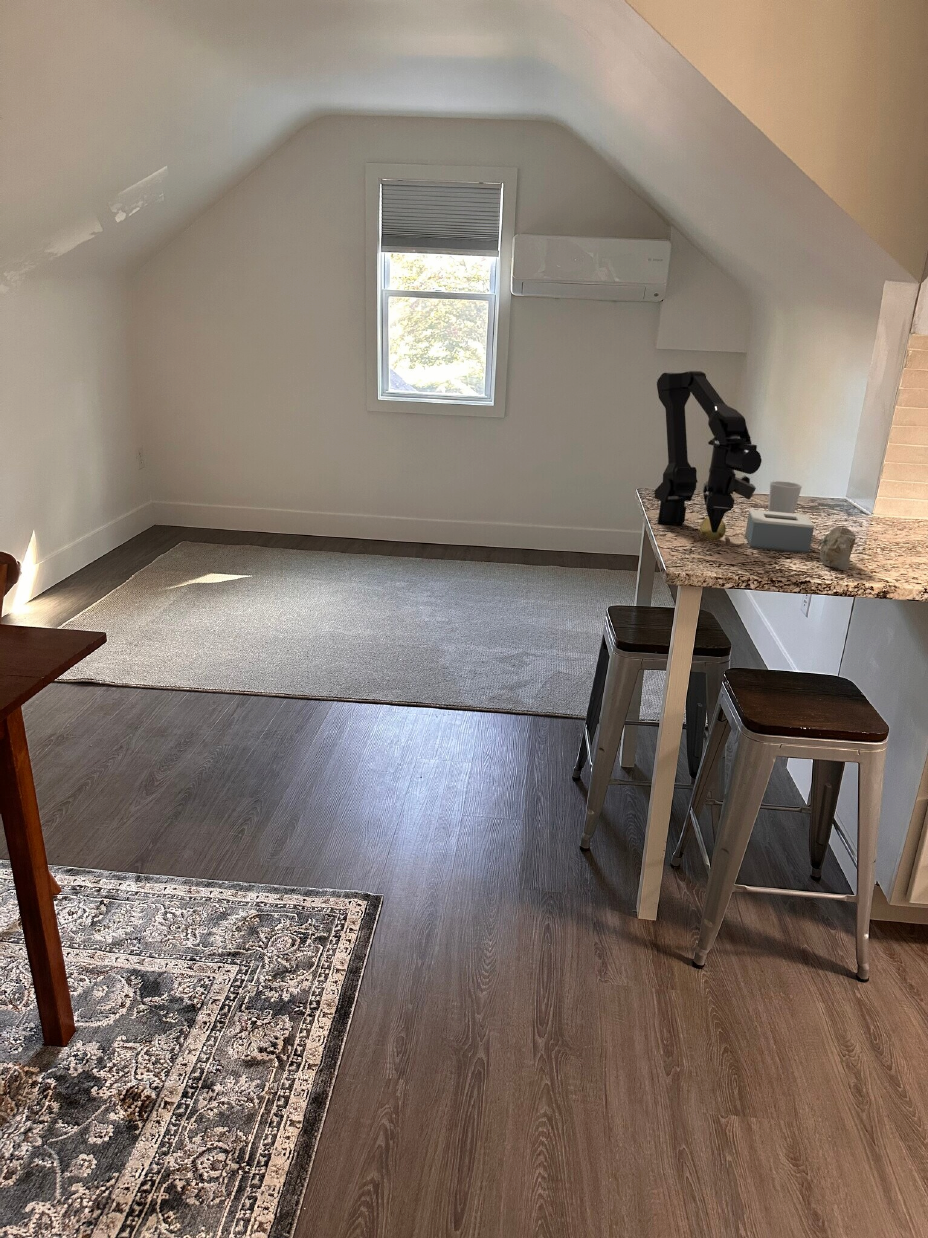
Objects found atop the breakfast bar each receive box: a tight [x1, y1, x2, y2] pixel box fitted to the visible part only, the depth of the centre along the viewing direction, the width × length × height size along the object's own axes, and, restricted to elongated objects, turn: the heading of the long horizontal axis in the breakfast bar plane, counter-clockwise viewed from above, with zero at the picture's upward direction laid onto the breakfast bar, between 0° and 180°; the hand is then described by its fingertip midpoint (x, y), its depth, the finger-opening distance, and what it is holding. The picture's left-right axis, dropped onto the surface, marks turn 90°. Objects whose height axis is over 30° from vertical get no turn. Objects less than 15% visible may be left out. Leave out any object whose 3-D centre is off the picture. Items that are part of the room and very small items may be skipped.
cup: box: [767, 480, 802, 514], centre depth 243 cm, size 8×8×12 cm
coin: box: [699, 516, 727, 542], centre depth 227 cm, size 6×2×6 cm, turn 79°
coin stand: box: [693, 532, 731, 545], centre depth 228 cm, size 9×5×1 cm, turn 79°
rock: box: [819, 526, 857, 571], centre depth 211 cm, size 12×7×10 cm, turn 159°
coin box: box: [744, 509, 815, 554], centre depth 227 cm, size 14×12×7 cm
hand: (713, 528), depth 228 cm, fingers open, 9 cm apart
